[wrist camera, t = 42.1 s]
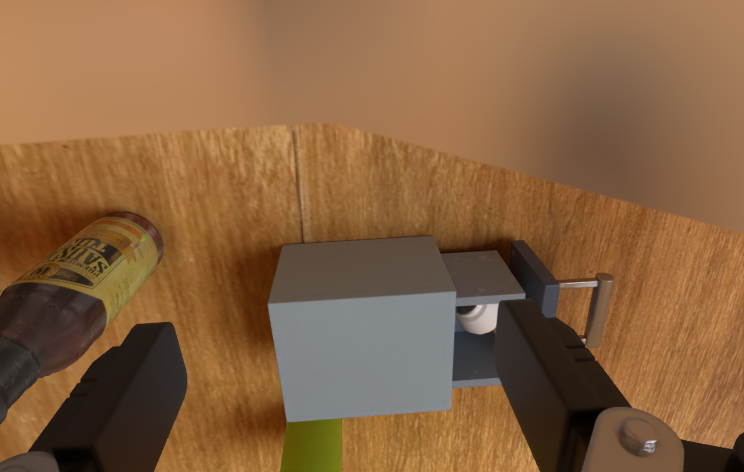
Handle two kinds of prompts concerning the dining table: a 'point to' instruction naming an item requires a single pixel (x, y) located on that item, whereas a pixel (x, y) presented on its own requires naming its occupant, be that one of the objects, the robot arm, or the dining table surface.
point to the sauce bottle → (72, 299)
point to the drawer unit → (363, 328)
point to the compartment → (517, 281)
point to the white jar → (477, 317)
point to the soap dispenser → (313, 446)
